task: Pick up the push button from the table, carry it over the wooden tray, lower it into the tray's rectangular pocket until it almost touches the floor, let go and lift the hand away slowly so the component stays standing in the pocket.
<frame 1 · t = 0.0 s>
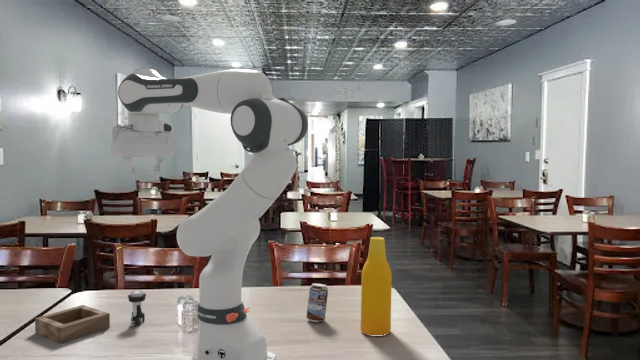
hand: (144, 172, 145), 48 cm above the table, tool pointing down, fingers open, 8 cm apart
beer bottle: (375, 332, 150), on the table
wooden tray: (73, 330, 148), on the table
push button: (136, 324, 154), on the table
beverage can: (317, 321, 159), on the table
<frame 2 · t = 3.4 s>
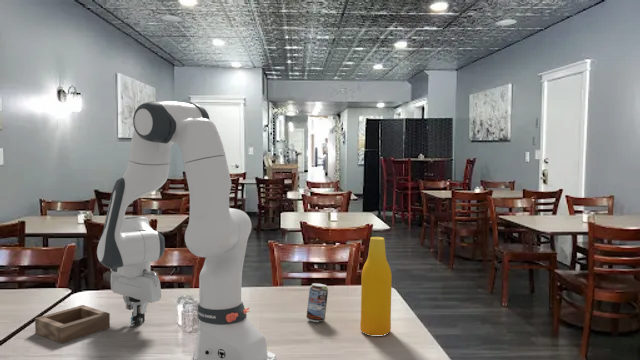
hand: (135, 311, 153), 4 cm above the table, tool pointing down, fingers closed on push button, 5 cm apart
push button: (136, 324, 154), on the table, touching gripper
everything else where it was.
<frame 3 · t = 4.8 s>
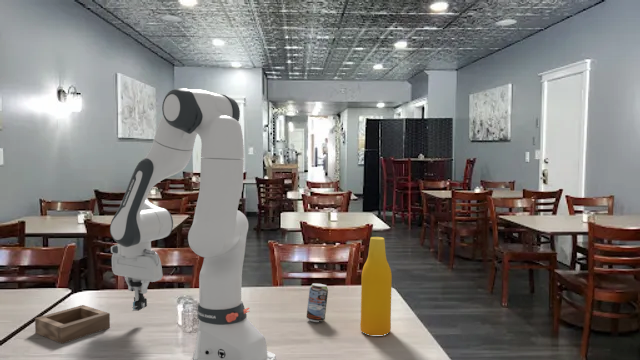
hand: (137, 291, 153), 10 cm above the table, tool pointing down, fingers closed on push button, 4 cm apart
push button: (138, 309, 153), point 5 cm above the table, touching gripper
everything else where it was.
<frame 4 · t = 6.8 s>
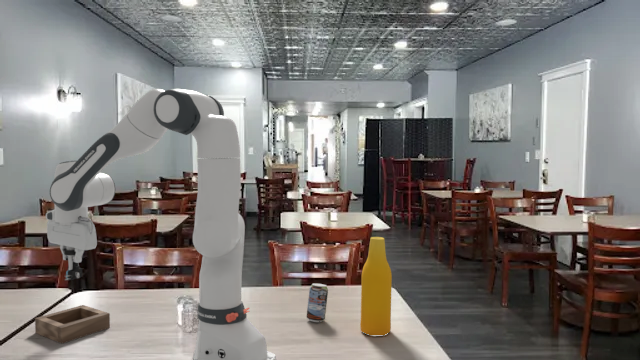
hand: (72, 261, 146), 21 cm above the table, tool pointing down, fingers closed on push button, 4 cm apart
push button: (72, 279, 147), point 16 cm above the table, touching gripper
everything else where it was.
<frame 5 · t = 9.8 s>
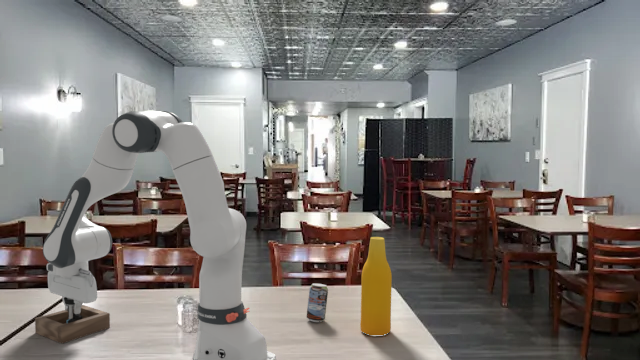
hand: (72, 312, 147), 6 cm above the table, tool pointing down, fingers closed on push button, 2 cm apart
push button: (72, 327, 147), point 1 cm above the table, touching gripper, wooden tray
everything else where it was.
when the fingers open (6 cm above the table, at t = 10.0 s): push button stays where it is, resting on wooden tray.
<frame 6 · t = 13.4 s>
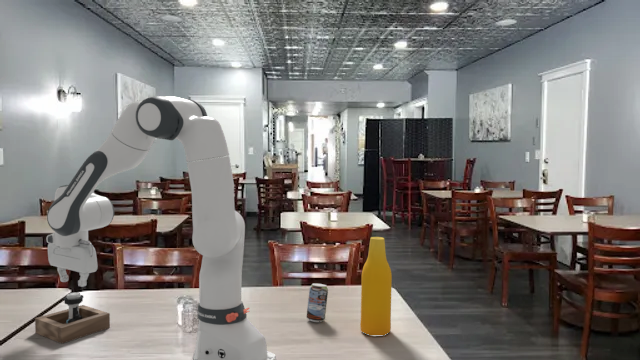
hand: (73, 283, 147), 14 cm above the table, tool pointing down, fingers open, 8 cm apart
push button: (72, 328, 147), point 1 cm above the table, touching wooden tray
everything else where it was.
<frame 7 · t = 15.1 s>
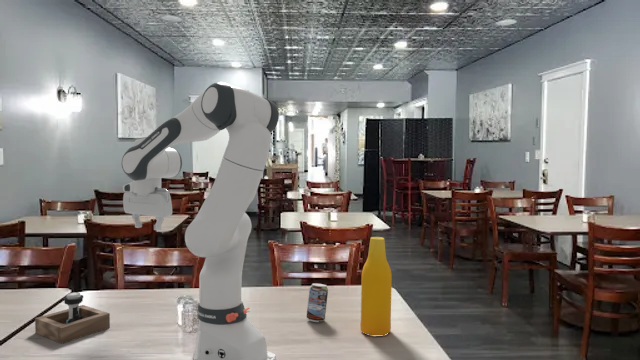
hand: (147, 228, 161), 29 cm above the table, tool pointing down, fingers open, 8 cm apart
nothing on the table moved.
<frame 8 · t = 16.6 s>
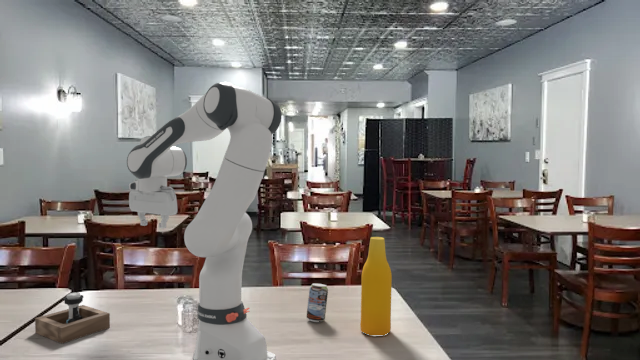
hand: (153, 226, 162), 29 cm above the table, tool pointing down, fingers open, 8 cm apart
nothing on the table moved.
at the end: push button 0.2 cm off-centre on the wooden tray, point 0.8 cm above the wooden tray's base; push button tilted 0°; the gripper is holding nothing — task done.
